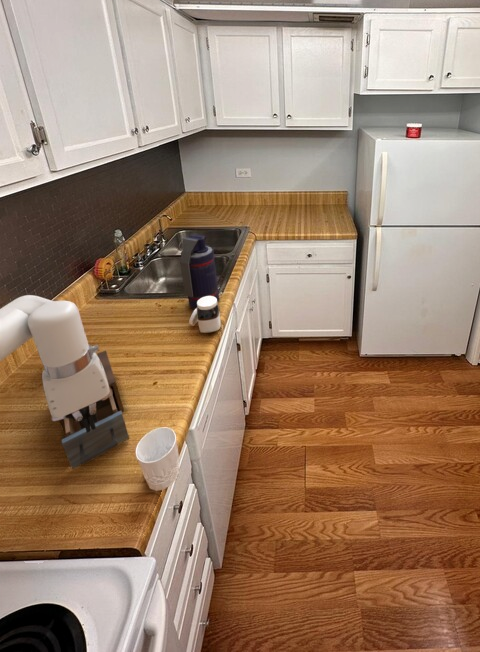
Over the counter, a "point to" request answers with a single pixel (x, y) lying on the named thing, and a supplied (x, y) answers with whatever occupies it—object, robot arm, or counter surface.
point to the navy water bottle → (198, 269)
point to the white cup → (158, 458)
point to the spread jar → (206, 315)
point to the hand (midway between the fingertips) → (90, 426)
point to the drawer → (94, 434)
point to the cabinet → (111, 382)
